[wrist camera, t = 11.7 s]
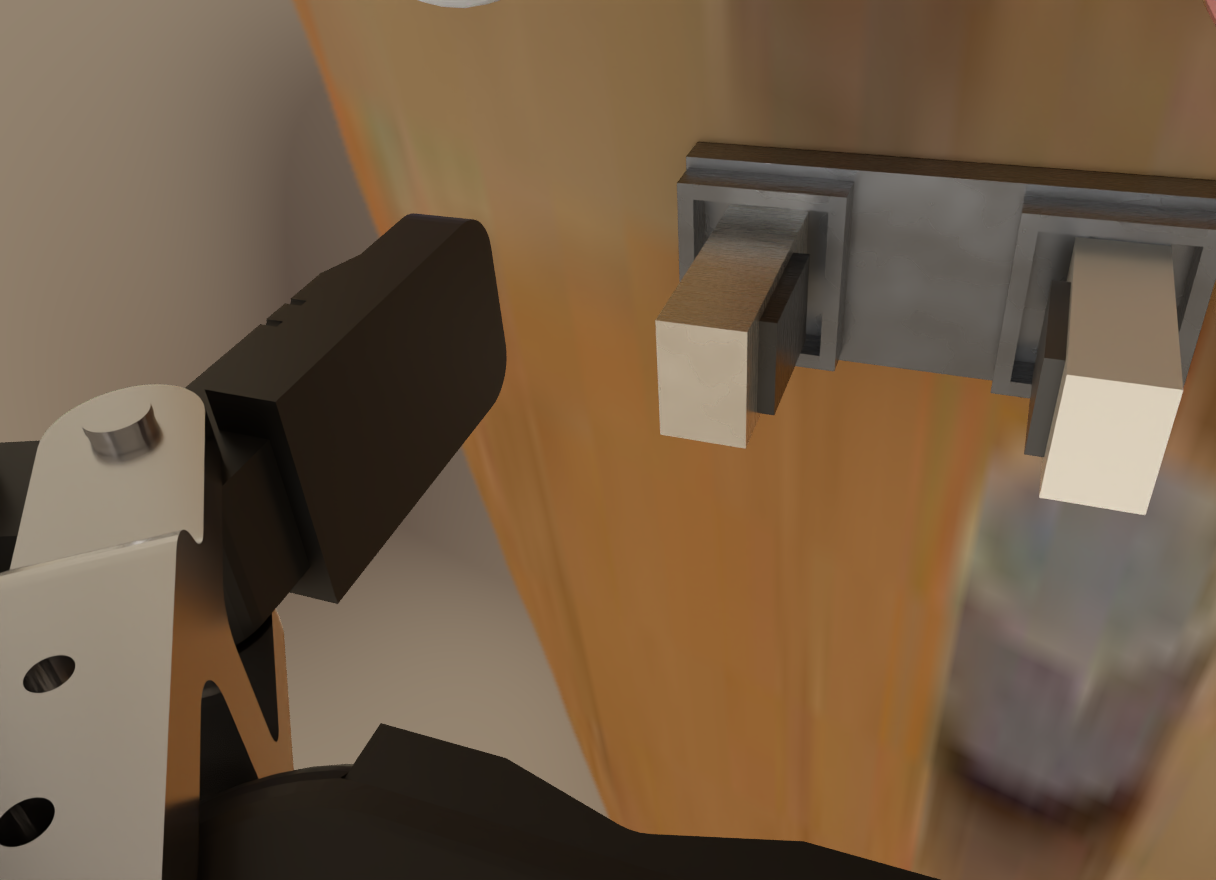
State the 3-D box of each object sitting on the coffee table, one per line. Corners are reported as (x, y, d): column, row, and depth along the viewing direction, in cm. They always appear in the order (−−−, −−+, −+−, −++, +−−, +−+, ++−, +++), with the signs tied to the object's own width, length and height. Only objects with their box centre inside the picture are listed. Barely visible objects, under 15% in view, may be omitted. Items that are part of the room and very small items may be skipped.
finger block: (1034, 346, 40) (1018, 493, 34) (1057, 235, 38) (1044, 371, 31) (1140, 359, 39) (1145, 515, 33) (1171, 246, 37) (1183, 390, 30)
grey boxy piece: (700, 322, 47) (616, 466, 39) (697, 142, 42) (601, 265, 34) (1171, 382, 41) (1184, 566, 33) (1229, 182, 36) (1260, 340, 29)
